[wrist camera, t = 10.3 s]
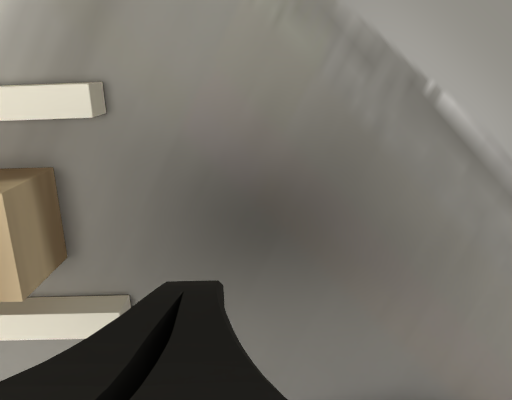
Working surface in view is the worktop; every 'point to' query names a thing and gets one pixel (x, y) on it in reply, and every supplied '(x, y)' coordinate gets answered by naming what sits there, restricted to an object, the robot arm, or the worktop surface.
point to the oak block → (28, 231)
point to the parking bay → (56, 308)
